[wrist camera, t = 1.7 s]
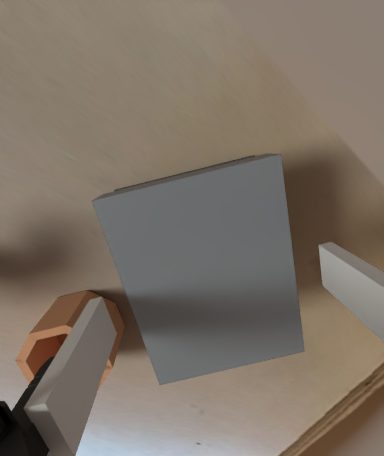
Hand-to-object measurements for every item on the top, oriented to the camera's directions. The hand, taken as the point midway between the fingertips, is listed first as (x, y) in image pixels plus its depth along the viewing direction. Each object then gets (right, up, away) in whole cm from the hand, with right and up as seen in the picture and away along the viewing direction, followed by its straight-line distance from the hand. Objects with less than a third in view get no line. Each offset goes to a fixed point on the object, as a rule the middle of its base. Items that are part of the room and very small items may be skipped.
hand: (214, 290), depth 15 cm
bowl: (-12, -6, +10) cm, 17 cm away
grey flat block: (0, +1, +2) cm, 2 cm away
